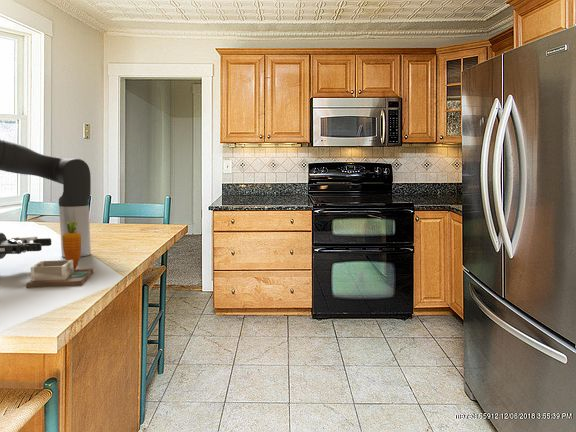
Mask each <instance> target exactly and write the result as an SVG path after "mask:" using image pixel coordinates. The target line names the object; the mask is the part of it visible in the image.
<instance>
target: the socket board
mask: <svg viewBox="0 0 576 432" xmlns="http://www.w3.org/2000/svg"><path fill="white" fill-rule="evenodd" d="M93 274H94V268H86V269H85V268H82V269H81V268H80V269H77V268H76V269H75V270H74V268H73V260H66V259H65V260H63V259H60V260H40V261H39V262H37V263H36V264H34V265H32V266H30V280H29V281H28V282H26V283H25V284H26V286H25V287H26V288H27V289H30V288H32V289H34V288H52V287H75V286H77V287H78V286H82V285H83V284H84V283H86V281H87V280H88V279H89V278H90V277H91V276H92V275H93Z"/></svg>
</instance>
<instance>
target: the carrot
mask: <svg viewBox="0 0 576 432" xmlns="http://www.w3.org/2000/svg"><path fill="white" fill-rule="evenodd" d="M66 223H67V228H68V231H69V232H68V233H65V234H64V235H63V236H62V240H63V250H64V254H65V257H64V258H65V260H73V268H74V270H75V269H77V267H78V265H79V262H80V259H81V257H80V253H81V235H80V234H79V233H77V232H74V230H75V229H76V228H77V227H75V226H76V225H77V224H78V223H75V221H74V220H73V221H72V223H71V226H70V224H69V222H66Z"/></svg>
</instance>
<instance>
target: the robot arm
mask: <svg viewBox="0 0 576 432" xmlns="http://www.w3.org/2000/svg"><path fill="white" fill-rule="evenodd" d="M0 171H1V172H6V173H13V174H20V175H29V176H36V177H40V178H43V179H46V180H49V181H53V182H55V183H58V184H61V185H63V188H62V189H63V191H62V195H61V196H60V197H59V198H58V211H59V213H58V214H59V229H60V231H59V232H60V245H61V247H60V248H61V249H60V250H61V251H60V253H61V256H62V257H63V258H65V254H64V250H63V240H62V236H63V235H64V234H65V233H68V232H69V231H68V228H67V223H66V222H69V224H70V226H71V223H72V221H73V220H74V221H75V223H78V224H77V225H76V226H75V227H77V228H76V229H75V230H74V232H77V233H79V234H80V235H81V253H80V258H81V257H87V256H90V255H91V253H92V249H91V248H92V247H91V226H90V225H91V224H90V205H89V201H90V197H91V191H92V190H91V189H92V188H91V187H92V186H91V185H92V184H91V183H92V182H91V181H92V179H91V170H90V166H89V165H88V163H87V162H86V161H84V159H82V158H71V157H70V158H63V157H54V156H50V155H45V154H41V153H39V152H37V151H34V150H32V149H30V148H29V147H26V146H24V145H22V144H19V143H16V142H13V141H9V140H5V139H2V138H0ZM31 241H32V243H31ZM51 245H52V238H50V237H47V238H44V237H43V238H38V236H25V237H12V238H7V236H6V235H5V233H3V232H0V260H2V259H4V258H5V257H6V255H16V254H17V255H20V254H22V253H26V252H41V251H42V249H43V248H42V247H49V246H51Z"/></svg>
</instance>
